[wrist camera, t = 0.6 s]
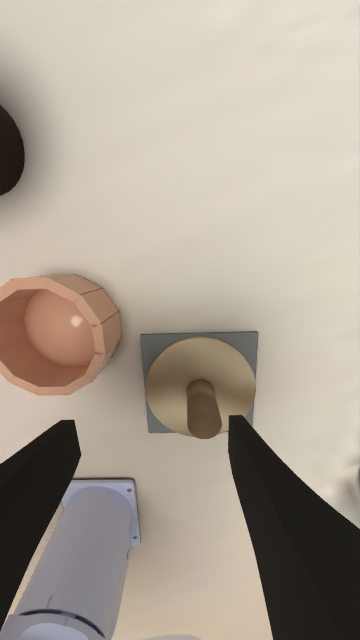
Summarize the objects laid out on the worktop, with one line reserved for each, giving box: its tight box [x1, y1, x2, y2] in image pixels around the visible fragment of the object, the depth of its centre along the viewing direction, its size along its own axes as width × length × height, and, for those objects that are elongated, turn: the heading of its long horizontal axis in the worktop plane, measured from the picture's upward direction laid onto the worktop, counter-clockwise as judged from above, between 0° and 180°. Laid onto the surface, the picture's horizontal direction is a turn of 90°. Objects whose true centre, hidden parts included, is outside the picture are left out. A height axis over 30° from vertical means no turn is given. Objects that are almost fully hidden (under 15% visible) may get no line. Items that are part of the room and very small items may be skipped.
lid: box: [146, 336, 256, 439], centre depth 17 cm, size 10×10×5 cm
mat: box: [141, 331, 258, 433], centre depth 20 cm, size 10×10×1 cm
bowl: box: [0, 275, 122, 396], centre depth 17 cm, size 8×8×4 cm
